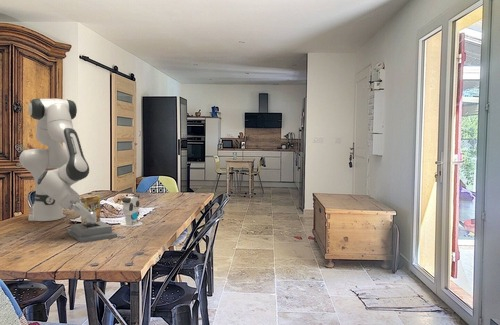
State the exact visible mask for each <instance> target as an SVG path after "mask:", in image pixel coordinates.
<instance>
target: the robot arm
mask: <svg viewBox="0 0 500 325" xmlns="http://www.w3.org/2000/svg"><path fill="white" fill-rule="evenodd" d="M27 109H28V113H29V115H30V117H31V118H32V119H34V120H36V135H35V136H36V137H35V138H36V140H37V141H38V142H39V143H40V144H42V145H43V146H45V147H47V148H29V149H25V150H23V151H22V152H21V153H20V154H19V164H20V165H21V166H22V167H23V168H24V169H26V170H27V171H28V172H29V173H30V174H31V176H32V177H33V179H34V185H35V195H34V203H33V205H32V206H31V207H29V212H30V214H28V218H27V219H28V220H27V221H29V222H51V221H57V220H60V219H63V218H66V217H67V216H66V214H63V213H64V212H63V210H70V211H72V210H73V211H74V212H75V213H76V214H77V215H79V216H80V217H82V218H83V219H86V218H87V219H89V220H90V221H92V222H93V221H94V220H95V219H94V218H93V217H92V216H91V215H90V212H89V211H88V210H87V208H86V207H85V206H84V205H83V203H82V202H81V195H80V194H79V193H78V192H77V191H76V190H74V189H73V188H72V187H71V186H72V185H74V184H76V183H78V182H79V181H81V180H83V179H86V178H87V177H88V176H89V173H90V166H89V163H88V161H87V160H86V158H85V155H84V151H83V149H82V146H81V142H80V138H79V135H78V133H77V131H76V130H75V129H74V125H73V120H74V119H75V118H76V117H77V113H78V106H77V104H76V102H75V101H73V100H72V99H62V98H38V97H37V98H33V99H31V100H30V102H29V104H28V108H27ZM62 143H64V145H65V147H66V148H65V147H64V146H63V144H62ZM47 169H48V170H47ZM49 169H52V170H49Z"/></svg>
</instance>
